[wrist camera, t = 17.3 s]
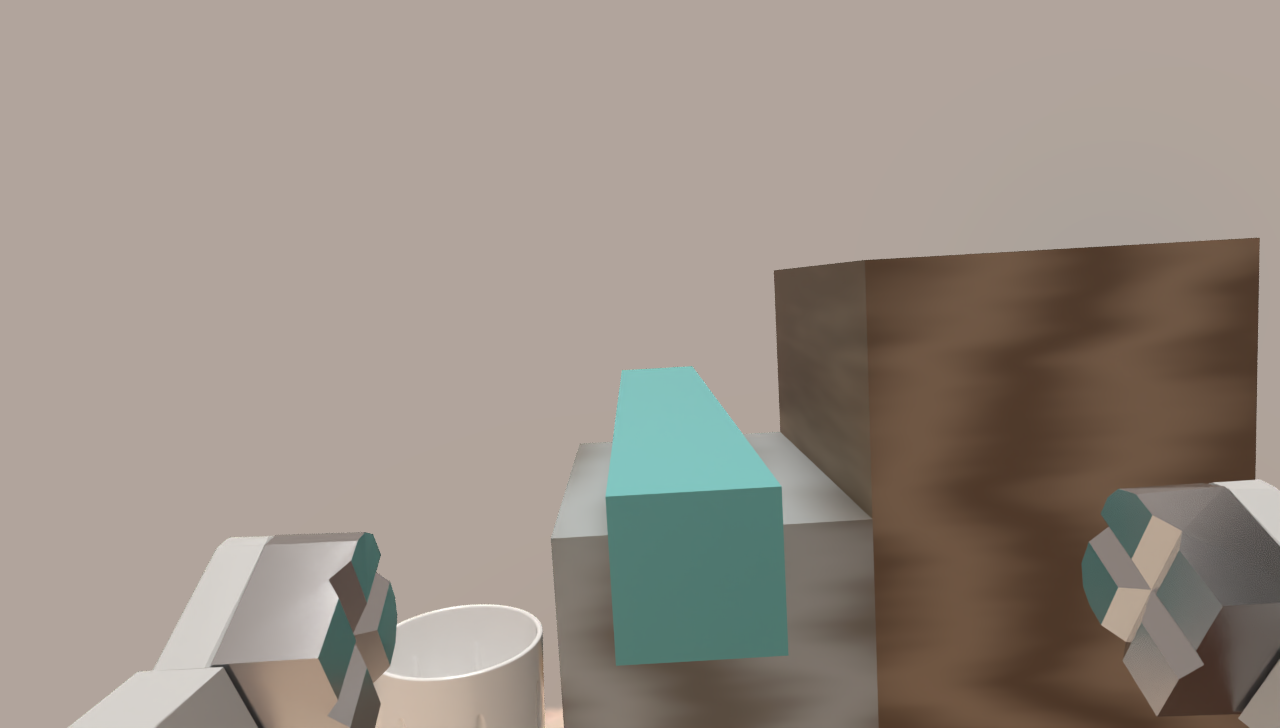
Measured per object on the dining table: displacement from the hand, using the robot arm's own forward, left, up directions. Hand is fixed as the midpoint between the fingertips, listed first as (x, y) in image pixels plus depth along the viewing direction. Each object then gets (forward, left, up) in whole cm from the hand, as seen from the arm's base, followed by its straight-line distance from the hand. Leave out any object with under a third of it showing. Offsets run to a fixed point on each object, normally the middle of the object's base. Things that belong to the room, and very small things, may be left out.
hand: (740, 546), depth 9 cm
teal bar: (0, -19, -5) cm, 19 cm away
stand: (-7, -23, -23) cm, 33 cm away
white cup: (+10, -27, -23) cm, 37 cm away
